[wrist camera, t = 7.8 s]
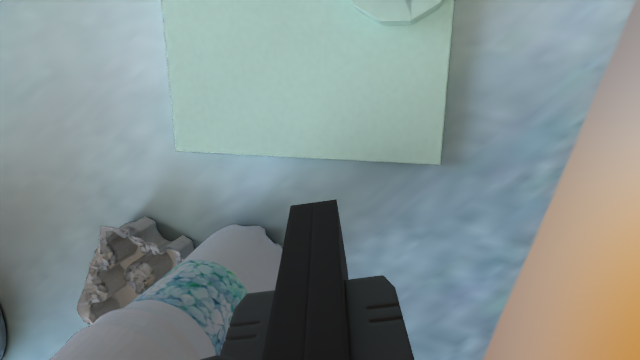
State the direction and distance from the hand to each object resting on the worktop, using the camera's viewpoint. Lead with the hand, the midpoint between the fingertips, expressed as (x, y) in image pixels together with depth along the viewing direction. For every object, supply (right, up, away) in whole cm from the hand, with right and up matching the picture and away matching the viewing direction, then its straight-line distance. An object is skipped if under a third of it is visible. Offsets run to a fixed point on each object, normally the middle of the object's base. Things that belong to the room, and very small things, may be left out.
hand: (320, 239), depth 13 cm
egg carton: (-14, -6, +20) cm, 25 cm away
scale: (-1, +10, +12) cm, 16 cm away
